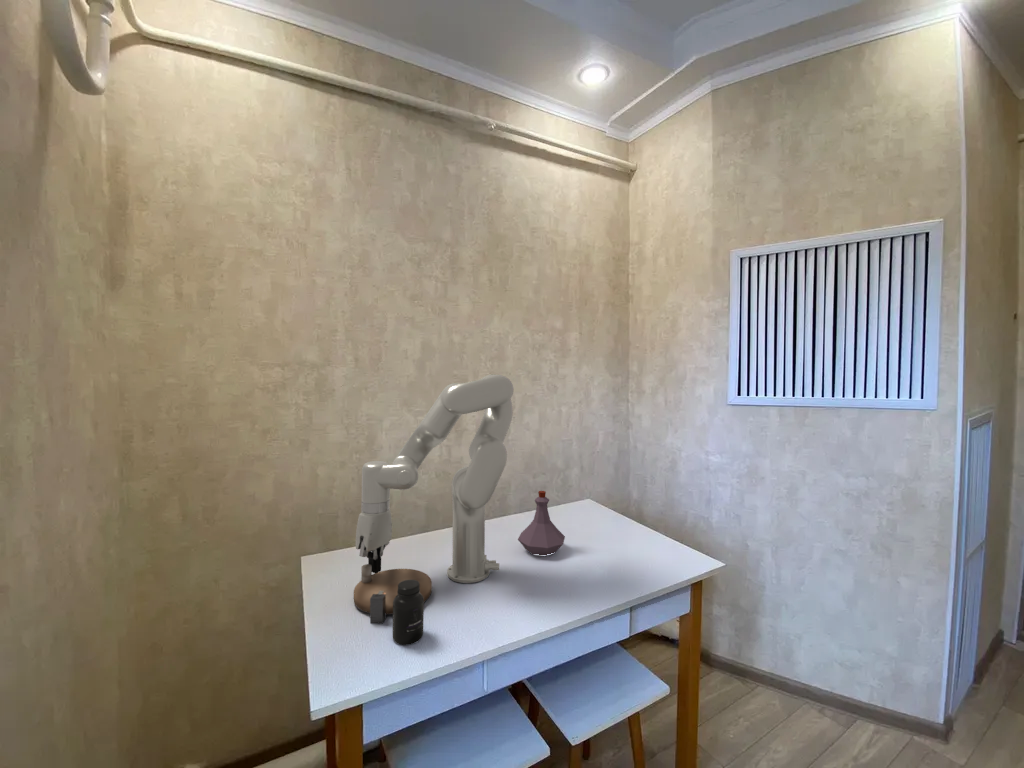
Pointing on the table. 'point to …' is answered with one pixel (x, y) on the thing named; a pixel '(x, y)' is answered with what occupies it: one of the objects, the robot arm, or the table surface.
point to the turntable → (387, 585)
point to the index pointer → (378, 608)
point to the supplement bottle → (408, 613)
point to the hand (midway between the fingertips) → (374, 571)
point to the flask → (541, 531)
